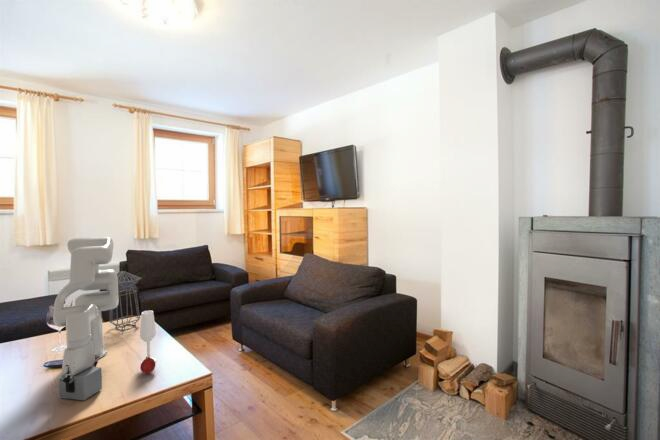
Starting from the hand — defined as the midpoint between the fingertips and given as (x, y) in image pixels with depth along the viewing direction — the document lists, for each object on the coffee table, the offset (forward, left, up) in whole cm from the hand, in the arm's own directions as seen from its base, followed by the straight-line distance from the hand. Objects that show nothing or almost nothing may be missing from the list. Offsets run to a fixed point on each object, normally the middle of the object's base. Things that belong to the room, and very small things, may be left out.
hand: (80, 385), depth 125 cm
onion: (+15, +18, -4) cm, 24 cm away
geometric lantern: (-39, +64, -4) cm, 75 cm away
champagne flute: (+7, +28, -4) cm, 29 cm away
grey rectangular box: (0, 0, -3) cm, 3 cm away
